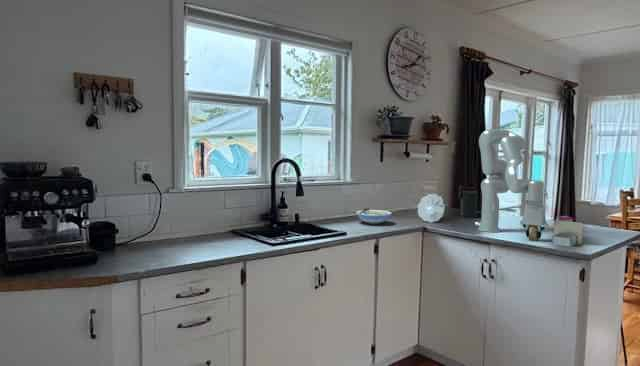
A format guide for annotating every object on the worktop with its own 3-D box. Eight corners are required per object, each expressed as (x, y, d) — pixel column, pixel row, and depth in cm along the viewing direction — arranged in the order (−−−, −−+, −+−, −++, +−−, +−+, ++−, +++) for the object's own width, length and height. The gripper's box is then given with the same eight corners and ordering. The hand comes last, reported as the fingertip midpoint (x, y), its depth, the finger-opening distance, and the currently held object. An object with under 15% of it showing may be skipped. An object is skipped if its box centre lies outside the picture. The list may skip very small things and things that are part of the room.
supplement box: (555, 236, 237) (556, 216, 236) (565, 236, 237) (566, 216, 236) (562, 238, 231) (563, 217, 230) (572, 238, 231) (573, 217, 231)
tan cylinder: (527, 240, 225) (528, 225, 224) (530, 239, 228) (530, 224, 227) (536, 241, 222) (536, 226, 221) (538, 240, 225) (539, 225, 224)
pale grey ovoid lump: (423, 228, 277) (425, 221, 301) (449, 218, 272) (449, 211, 296) (411, 203, 278) (414, 197, 301) (437, 193, 272) (438, 188, 296)
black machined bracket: (472, 214, 317) (474, 185, 315) (477, 218, 297) (479, 187, 295) (456, 213, 319) (457, 184, 317) (460, 218, 299) (461, 187, 297)
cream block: (547, 243, 218) (548, 222, 217) (553, 240, 226) (555, 219, 225) (575, 247, 209) (577, 225, 208) (581, 244, 217) (582, 222, 216)
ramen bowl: (388, 227, 257) (388, 214, 257) (351, 225, 264) (351, 212, 264) (394, 221, 281) (394, 209, 280) (360, 219, 288) (361, 207, 287)
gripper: (515, 202, 226) (514, 236, 228) (550, 206, 215) (548, 241, 216) (520, 201, 232) (519, 234, 233) (554, 204, 220) (552, 239, 221)
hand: (533, 237), depth 225 cm, fingers closed on tan cylinder, 4 cm apart
